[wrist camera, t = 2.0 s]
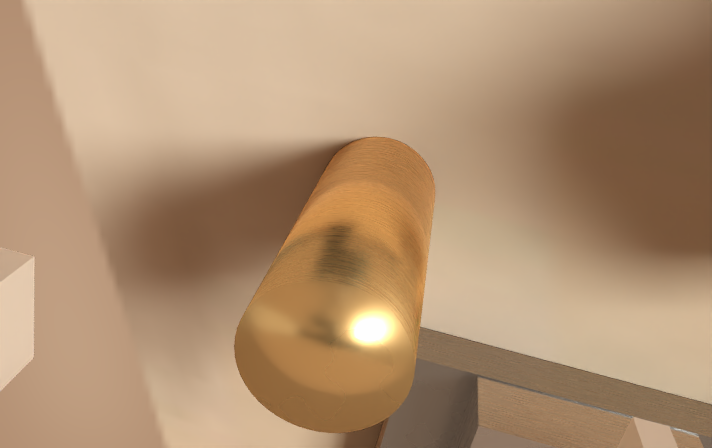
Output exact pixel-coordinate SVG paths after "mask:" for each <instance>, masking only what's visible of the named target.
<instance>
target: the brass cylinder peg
mask: <svg viewBox="0 0 712 448" xmlns="http://www.w3.org/2000/svg"><path fill="white" fill-rule="evenodd" d="M434 202H435V184H434V179H433V176H432V173H431V171H430V169H429V167H428V165H427V164H426V162H425V161H424V159H423V158H422V157H421V156H420V155H419V154H418V153H417V152H416V151H415V150H413V149H412V148H411V147H409V146H407V145H406V144H404V143H402V142H399V141H397V140H394V139H390V138H385V137H368V138H363V139H359V140H356V141H354V142H352V143H350V144H348V145H346V146H345V147H343V148H342V149H341V150H339V151H338V152H337V153H336V154H335V155H334V157H333V158H332V159H331V161H330V162H329V164H328V166H327V167H326V169H325V171H324V173H323V175H322V176H321V178H320V180H319V182H318V183H317V185H316V187H315V189H314V190H313V192H312V194H311V196H310V198H309V199H308V201H307V203H306V205H305V206H304V208H303V210H302V212H301V214H300V215H299V217H298V219H297V221H296V222H295V224H294V226H293V228H292V230H291V231H290V233H289V235H288V237H287V238H286V240H285V242H284V244H283V245H282V247H281V249H280V251H279V253H278V254H277V256H276V258H275V260H274V261H273V263H272V265H271V267H270V269H269V270H268V272H267V274H266V276H265V277H264V279H263V281H262V283H261V285H260V286H259V288H258V290H257V292H256V293H255V295H254V297H253V299H252V300H251V302H250V304H249V306H248V308H247V309H246V311H245V313H244V315H243V316H242V318H241V320H240V323H239V325H238V327H237V331H236V335H235V345H234V349H235V359H236V363H237V367H238V370H239V372H240V375H241V377H242V379H243V381H244V383H245V385H246V386H247V387H248V389H249V390H250V392H251V393H252V394H253V395H254V397H255V398H256V399H257V400H258V401H259V402H260V403H261V404H262V405H263V406H265V407H266V408H267V409H268V410H269V411H271V412H272V413H274V414H275V415H277V416H278V417H280V418H282V419H284V420H285V421H287V422H290V423H292V424H294V425H296V426H299V427H302V428H305V429H309V430H314V431H318V432H327V433H345V432H353V431H358V430H362V429H365V428H368V427H371V426H374V425H376V424H378V423H380V422H382V421H383V420H385V419H386V418H388V417H389V416H391V415H392V414H393V413H394V412H395V411H396V410H397V409H398V408H399V407H400V406H401V405H402V403H403V402H404V400H405V399H406V397H407V396H408V394H409V391H410V389H411V386H412V383H413V379H414V373H415V365H416V356H417V348H418V339H419V331H420V322H421V313H422V305H423V296H424V288H425V279H426V270H427V262H428V253H429V245H430V236H431V228H432V219H433V210H434Z"/></svg>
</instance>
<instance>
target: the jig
mask: <svg viewBox="0 0 712 448" xmlns="http://www.w3.org/2000/svg"><path fill="white" fill-rule="evenodd" d="M632 417H636V418H640V419H643V420H647V421H651V422H655V423H658V424H662V425H666V426H669V427H670V429H671V432H672V434H673V437H674V439H675V441H676V444H677V446H678V448H712V405H710V404H706V403H703V402H699V401H695V400H691V399H688V398H684V397H680V396H676V395H673V394H669V393H665V392H661V391H658V390H654V389H650V388H646V387H643V386H639V385H635V384H631V383H628V382H624V381H620V380H616V379H613V378H609V377H605V376H601V375H598V374H594V373H590V372H586V371H583V370H579V369H575V368H571V367H568V366H564V365H560V364H556V363H553V362H549V361H545V360H541V359H538V358H534V357H530V356H526V355H523V354H519V353H515V352H511V351H508V350H504V349H500V348H496V347H493V346H489V345H485V344H481V343H478V342H474V341H470V340H466V339H463V338H459V337H455V336H451V335H448V334H444V333H440V332H436V331H433V330H429V329H425V328H421V327H420V331H419V339H418V348H417V356H416V365H415V373H414V379H413V383H412V386H411V389H410V391H409V394H408V396H407V397H406V399H405V400H404V402H403V403H402V405H401V406H400V407H399V408H398V409H397V410H396V411H395V412H394V413H393V414H392V415H391V416H389V417H388V418H386V419H385V420H384V421H383V424H382V427H381V431H380V434H379V437H378V441H377V444H376V447H375V448H617V447H618V445H619V443H620V441H621V439H622V437H623V435H624V433H625V431H626V429H627V427H628V425H629V423H630V421H631V419H632Z"/></svg>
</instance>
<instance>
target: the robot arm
mask: <svg viewBox="0 0 712 448" xmlns="http://www.w3.org/2000/svg"><path fill="white" fill-rule="evenodd" d="M34 266H35V257H34V256H32V255H29V254H25V253H21V252H18V251H14V250H10V249H6V248H2V247H1V248H0V391H1V390H2V389H3V388H4V387H5V386H6V385H7V384H8V383H9V382H10V381H11V380H12V379H13V378H14V377H15V376H16V375H17V374H18V373H19V372H20V371H21V370H22V369H23V368H24V367H25V366H26V365H27V364H28V363H29V362H30V361H31V360H32V359H33V358H34V274H35V273H34V272H35V267H34ZM617 448H678V446H677V444H676V441H675V439H674V437H673V434H672V432H671V429H670V427H669V426H666V425H662V424H658V423H655V422H651V421H647V420H643V419H640V418H636V417H632V419H631V421H630V423H629V425H628V427H627V429H626V431H625V433H624V435H623V437H622V439H621V441H620V443H619V445H618V447H617Z"/></svg>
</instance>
